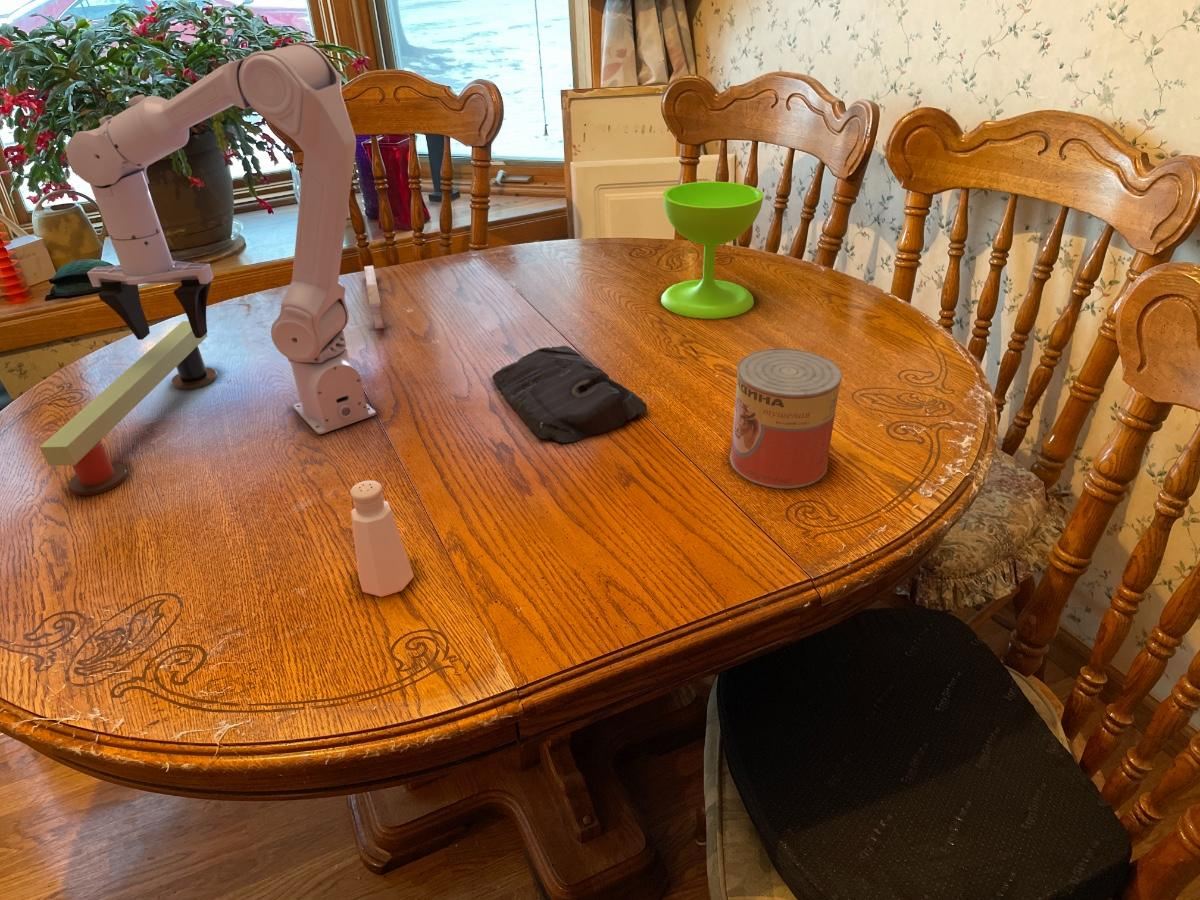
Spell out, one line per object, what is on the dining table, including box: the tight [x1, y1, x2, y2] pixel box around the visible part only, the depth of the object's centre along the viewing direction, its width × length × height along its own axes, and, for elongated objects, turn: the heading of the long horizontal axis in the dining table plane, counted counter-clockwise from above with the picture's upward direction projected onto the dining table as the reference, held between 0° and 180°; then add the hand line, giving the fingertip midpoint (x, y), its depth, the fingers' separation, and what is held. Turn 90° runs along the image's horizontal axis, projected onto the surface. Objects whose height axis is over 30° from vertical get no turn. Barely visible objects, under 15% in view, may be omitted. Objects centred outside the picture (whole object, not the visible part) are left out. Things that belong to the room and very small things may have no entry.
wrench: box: [363, 265, 386, 330], centre depth 134 cm, size 8×2×30 cm
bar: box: [39, 320, 208, 467], centre depth 100 cm, size 34×3×2 cm, turn 0°
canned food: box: [729, 348, 843, 490], centre depth 89 cm, size 11×11×12 cm
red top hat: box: [68, 439, 128, 497], centre depth 91 cm, size 6×6×5 cm
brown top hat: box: [171, 345, 218, 391], centre depth 112 cm, size 6×6×5 cm
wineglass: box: [660, 181, 764, 320], centre depth 129 cm, size 16×16×18 cm
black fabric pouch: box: [491, 345, 648, 445], centre depth 105 cm, size 15×22×5 cm
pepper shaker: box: [349, 479, 415, 598], centre depth 74 cm, size 5×5×11 cm
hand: (172, 335), depth 102 cm, fingers open, 7 cm apart
